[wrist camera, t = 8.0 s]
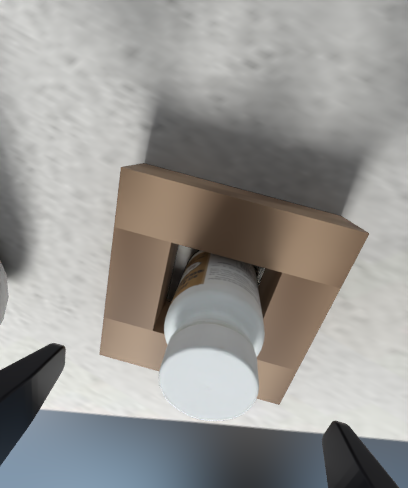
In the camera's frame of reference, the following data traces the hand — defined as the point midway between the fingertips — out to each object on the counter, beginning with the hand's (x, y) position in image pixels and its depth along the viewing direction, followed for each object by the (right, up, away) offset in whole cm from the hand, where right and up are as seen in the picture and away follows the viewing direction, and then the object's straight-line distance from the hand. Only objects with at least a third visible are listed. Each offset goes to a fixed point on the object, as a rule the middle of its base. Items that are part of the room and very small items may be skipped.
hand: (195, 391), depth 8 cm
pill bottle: (+1, +3, +8) cm, 8 cm away
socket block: (+1, +3, +7) cm, 8 cm away
